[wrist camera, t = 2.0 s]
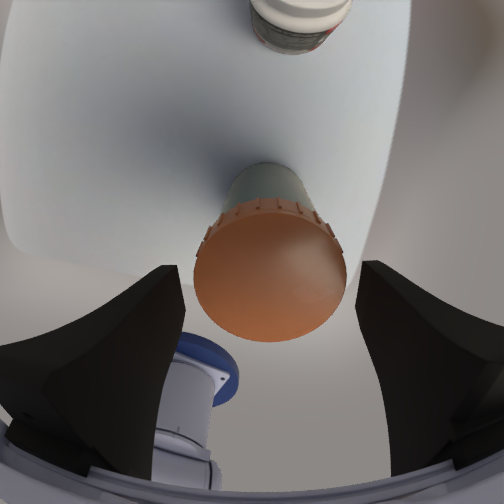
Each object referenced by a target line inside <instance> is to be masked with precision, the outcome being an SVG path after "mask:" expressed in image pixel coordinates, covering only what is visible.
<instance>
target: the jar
mask: <svg viewBox="0 0 504 504" xmlns="http://www.w3.org/2000/svg"><path fill="white" fill-rule="evenodd" d="M257 197H260V199H264V198H277V197H280V199H284V200H289V201H292V202H297V201H298V202H300V204H301V205H303V206H305V207H307V208H308V209H310V210H311V211H314V210H315V208H314V206H313V204H312V202H311V200H310V198H309V196H308V194H307V192H306V190H305V188H304V186H303V184H302V182H301V180H300V179H299V178H298V176H297V175H296V174H295V173H294V172H292V171H291V170H290V169H288V168H287V167H284V166H282V165H279V164H276V163H259V164H255V165H252V166H250V167H248V168H246V169H245V170H243V171H242V172H241V173H240V174H239V175H238V176H237V177H236V178H235V180H234V182H233V183H232V185H231V188H230V190H229V193H228V195H227V198H226V200H225V203H224V205H223V208H222V210H221V213H222V212H223V213H226V212H227V211H229V210H230V209H232V208H234V207H236V206H237V203H239V202H240V204H242V203H245V202H248V201H252V200H256V199H257ZM315 211H316V210H315ZM221 213H220V215H221ZM220 215H219V217H220ZM218 219H219V218H218Z"/></svg>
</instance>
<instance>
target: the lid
mask: <svg viewBox="0 0 504 504" xmlns="http://www.w3.org/2000/svg"><path fill="white" fill-rule="evenodd" d="M334 237H335V235H334V233H333V231H332V229H331V227H330V225H329V224H328V223H327V224H326V223H325V222H324V221H323V220H322V219H321V218H320V217H319V216H318V214H317V212H316V211H315V210H314V211H311V210H310V209H308V208H307V207H305V206H303V205H301V204H300V202H298V201H297V202H292V201H289V200H284V199H280V197H277V198H264V199H260V197H257V199H256V200H252V201H248V202H245V203H242V204H240V202H239V203H237V206H236V207H234V208H232V209H230V210H229V211H227V212H226V213H223V212H222V213H221V215H220V217H219V219H218V220H217V221H216V222H215V223H214V224H213V226H212V227H211V226H209V228H208V230H207V232H206V235H205V237H204V239H203V240H204V242H203V241H202V242H201V245H200V247H199V249H198V251H197V254H196V257H197V260H196V263H195V268H194V278H193V279H194V288H195V292H196V296H197V298H198V300H199V303H200V305H201V306H202V308H203V310H204V311H205V312H206V314H207V315H208V316H209V317H210V318H211V319H212V320H213V321H214V322H215V323H216V324H217V325H218V326H220V327H221V328H223V329H224V330H226V331H227V332H229V333H231V334H233V335H236V336H238V337H241V338H244V339H248V340H252V341H259V342H280V341H286V340H291V339H294V338H298V337H300V336H303V335H305V334H307V333H309V332H311V331H313V330H314V329H316V328H318V327H319V326H320V325H322V324H323V323H324V322H325V321H326V320H327V319H328V318H329V317H330V316H331V315H332V314H333V313H334V311H335V310H336V308H337V307H338V305H339V303H340V302H341V300H342V297H343V294H344V291H345V287H346V278H347V273H346V265H345V261H344V258H343V255H342V253H343V250H342V248H341V246H340V244H339V242H338V240H337V238H334Z"/></svg>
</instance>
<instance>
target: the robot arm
mask: <svg viewBox="0 0 504 504" xmlns="http://www.w3.org/2000/svg"><path fill="white" fill-rule="evenodd" d="M355 309H356V313H357V318H358V322H359V326H360V330H361V332H362V335H363V338H364V340H365V343H366V346H367V348H368V351H369V354H370V357H371V359H372V362H373V365H374V367H375V370H376V373H377V376H378V379H379V383H380V387H381V391H382V395H383V401H384V406H385V412H386V419H387V425H388V434H389V444H390V455H391V456H390V457H391V477H390V478H386V479H381V480H377V481H372V482H367V483H361V484H356V485H350V486H343V487H336V488H328V489H318V490H307V491H292V492H233V491H232V492H231V491H221V487H222V474H221V470H220V468H219V467H218V465H217V463H216V462H215V461H213V460H210V453H211V451H210V450H207V449H206V443H207V436H208V429H209V423H210V416H211V410H212V404H213V397H214V396H215V394H216V393H217V392H218V391H219V390H220V388H221V387H222V386H223V385H224V383H225V382H226V381H227V380H228V379H229V377H230V373H229V372H227V371H225V370H222V369H219V368H217V367H214V366H211V365H209V364H206V363H204V362H201V361H198V360H196V359H194V358H191V357H189V356H186V355H184V354H181V353H179V352H177V351H175V350H176V347H177V344H178V341H179V338H180V335H181V332H182V327H183V322H184V317H185V312H186V309H185V304H184V299H183V294H182V289H181V284H180V279H179V273H178V268H177V265H161V266H159V267H157V268H156V269H154V270H153V271H151V272H150V273H148V274H147V275H146V276H144V277H143V278H142V279H140V280H139V281H137V282H136V283H135V284H133V285H132V286H131V287H129V288H128V289H127V290H125V291H124V292H122V293H121V294H120V295H118V296H116V297H115V298H113V299H112V300H110V301H109V302H107V303H106V304H104V305H103V306H101V307H99V308H98V309H96V310H94V311H93V312H91V313H89V314H87V315H85V316H84V317H82V318H80V319H78V320H75V321H74V322H71V323H69V324H67V325H64V326H62V327H60V328H58V329H55V330H53V331H50V332H48V333H45V334H42V335H39V336H37V337H33V338H30V339H27V340H23V341H19V342H15V343H11V344H7V345H1V346H0V404H1V406H2V407H3V408H4V409H5V410H6V411H7V413H8V414H9V415H10V416H11V417H12V418H13V420H12V422H11V424H10V426H9V427H8V426H7V425H6V424H5V423H4V422H3V421H2V420H1V419H0V498H1V499H3V500H4V501H5V502H6V503H8V504H504V327H503V326H500V325H496V324H494V323H491V322H488V321H485V320H483V319H480V318H478V317H475V316H473V315H470V314H468V313H466V312H463V311H461V310H459V309H457V308H455V307H453V306H451V305H449V304H447V303H446V302H444V301H442V300H440V299H438V298H437V297H435V296H433V295H432V294H430V293H428V292H427V291H425V290H424V289H422V288H420V287H419V286H417V285H416V284H414V283H413V282H411V281H410V280H408V279H407V278H405V277H404V276H402V275H401V274H399V273H398V272H396V271H395V270H393V269H392V268H390V267H389V266H387V265H386V264H384V263H382V262H380V261H378V260H373V261H363V262H362V268H361V275H360V280H359V286H358V292H357V298H356V304H355ZM222 377H223V378H222Z"/></svg>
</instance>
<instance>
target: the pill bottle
mask: <svg viewBox="0 0 504 504" xmlns="http://www.w3.org/2000/svg"><path fill="white" fill-rule="evenodd" d="M249 2H250V9H251V16H252V25H253V28H254V31H255V33H256V35H257V37H258V38H259V40H260V41H261V42H262V43H263V44H264V45H266V46H267V47H269V48H270V49H272V50H274V51H277V52H279V53H283V54H288V55H299V54H304V53H308V52H310V51H312V50H314V49H316V48H317V47H319V46H320V45H321V44H322V43H323V42H324V41H325V39H326V38H327V37H328V36H329V35H330V34H331V33H332V32H333V31H334V30H335V28H336V27H337V26H338V25H339V24H340V23H341V22H342V21H343V20H344V19H345V17H346V16H347V14H348V13H349V11H350V8H351V5H352V0H249Z"/></svg>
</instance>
